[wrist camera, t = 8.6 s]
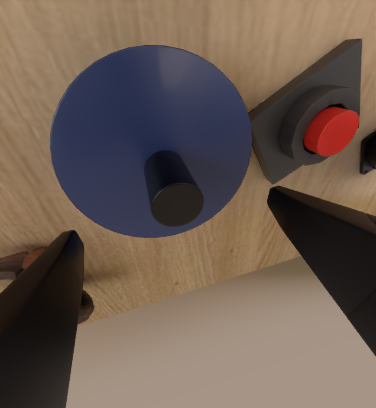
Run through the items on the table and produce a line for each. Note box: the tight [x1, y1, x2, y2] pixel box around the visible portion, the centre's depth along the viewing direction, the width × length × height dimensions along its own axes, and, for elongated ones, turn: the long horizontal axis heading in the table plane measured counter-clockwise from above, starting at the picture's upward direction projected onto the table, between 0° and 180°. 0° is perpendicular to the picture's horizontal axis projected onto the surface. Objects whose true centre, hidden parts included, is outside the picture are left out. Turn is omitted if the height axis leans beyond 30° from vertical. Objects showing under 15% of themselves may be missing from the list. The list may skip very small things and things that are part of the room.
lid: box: [50, 45, 252, 238], centre depth 11 cm, size 12×12×5 cm
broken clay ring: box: [0, 248, 94, 324], centre depth 22 cm, size 12×10×8 cm
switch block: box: [248, 39, 362, 184], centre depth 19 cm, size 9×11×4 cm
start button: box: [303, 107, 359, 156], centre depth 18 cm, size 4×4×2 cm
